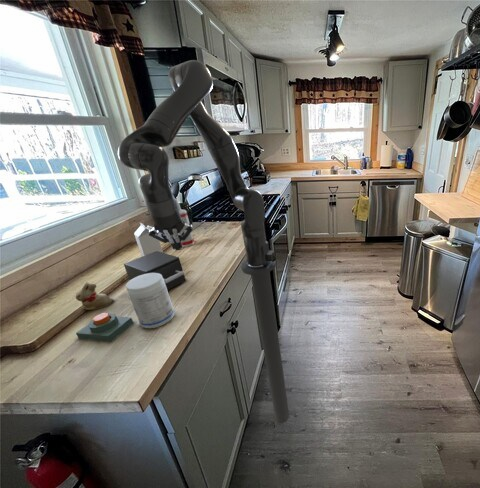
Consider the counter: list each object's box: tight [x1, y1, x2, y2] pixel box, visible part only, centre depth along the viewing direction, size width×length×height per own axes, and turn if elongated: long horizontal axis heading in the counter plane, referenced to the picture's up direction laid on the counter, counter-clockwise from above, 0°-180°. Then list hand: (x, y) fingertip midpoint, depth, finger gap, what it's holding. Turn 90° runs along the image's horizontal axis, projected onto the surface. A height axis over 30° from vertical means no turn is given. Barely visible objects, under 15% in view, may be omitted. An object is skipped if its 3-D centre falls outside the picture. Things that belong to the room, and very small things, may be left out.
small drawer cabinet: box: [123, 251, 187, 291], centre depth 101 cm, size 15×13×11 cm
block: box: [75, 312, 134, 343], centre depth 78 cm, size 11×8×4 cm
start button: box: [92, 312, 110, 325], centre depth 77 cm, size 4×4×2 cm
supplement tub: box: [125, 273, 175, 329], centre depth 80 cm, size 10×10×15 cm
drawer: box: [149, 260, 187, 291], centre depth 99 cm, size 18×11×9 cm, turn 62°
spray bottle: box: [175, 198, 195, 248], centre depth 135 cm, size 8×8×25 cm
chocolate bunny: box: [75, 281, 114, 311], centre depth 89 cm, size 6×8×10 cm
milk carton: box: [133, 222, 164, 257], centre depth 117 cm, size 7×7×19 cm
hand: (178, 248), depth 89 cm, fingers closed
